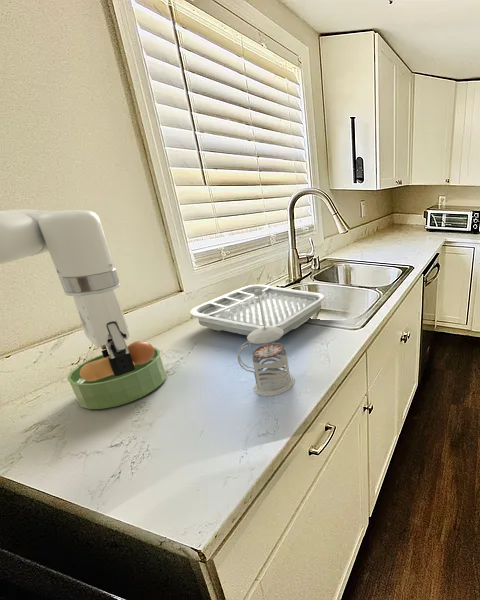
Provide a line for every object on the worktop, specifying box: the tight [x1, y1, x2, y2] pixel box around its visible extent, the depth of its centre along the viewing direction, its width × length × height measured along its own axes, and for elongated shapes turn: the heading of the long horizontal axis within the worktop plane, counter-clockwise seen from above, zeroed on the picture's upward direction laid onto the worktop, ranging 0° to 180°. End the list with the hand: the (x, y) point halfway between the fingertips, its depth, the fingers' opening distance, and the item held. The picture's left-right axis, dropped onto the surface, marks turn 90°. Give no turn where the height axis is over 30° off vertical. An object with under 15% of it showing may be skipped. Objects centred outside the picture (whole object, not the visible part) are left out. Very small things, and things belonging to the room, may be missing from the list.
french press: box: [237, 289, 296, 397], centre depth 76 cm, size 10×12×25 cm
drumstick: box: [80, 340, 155, 381], centre depth 64 cm, size 12×5×5 cm, turn 143°
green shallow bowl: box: [66, 346, 167, 410], centre depth 79 cm, size 17×17×7 cm
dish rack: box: [189, 284, 326, 336], centre depth 114 cm, size 32×37×8 cm
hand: (121, 368), depth 65 cm, fingers closed on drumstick, 3 cm apart
